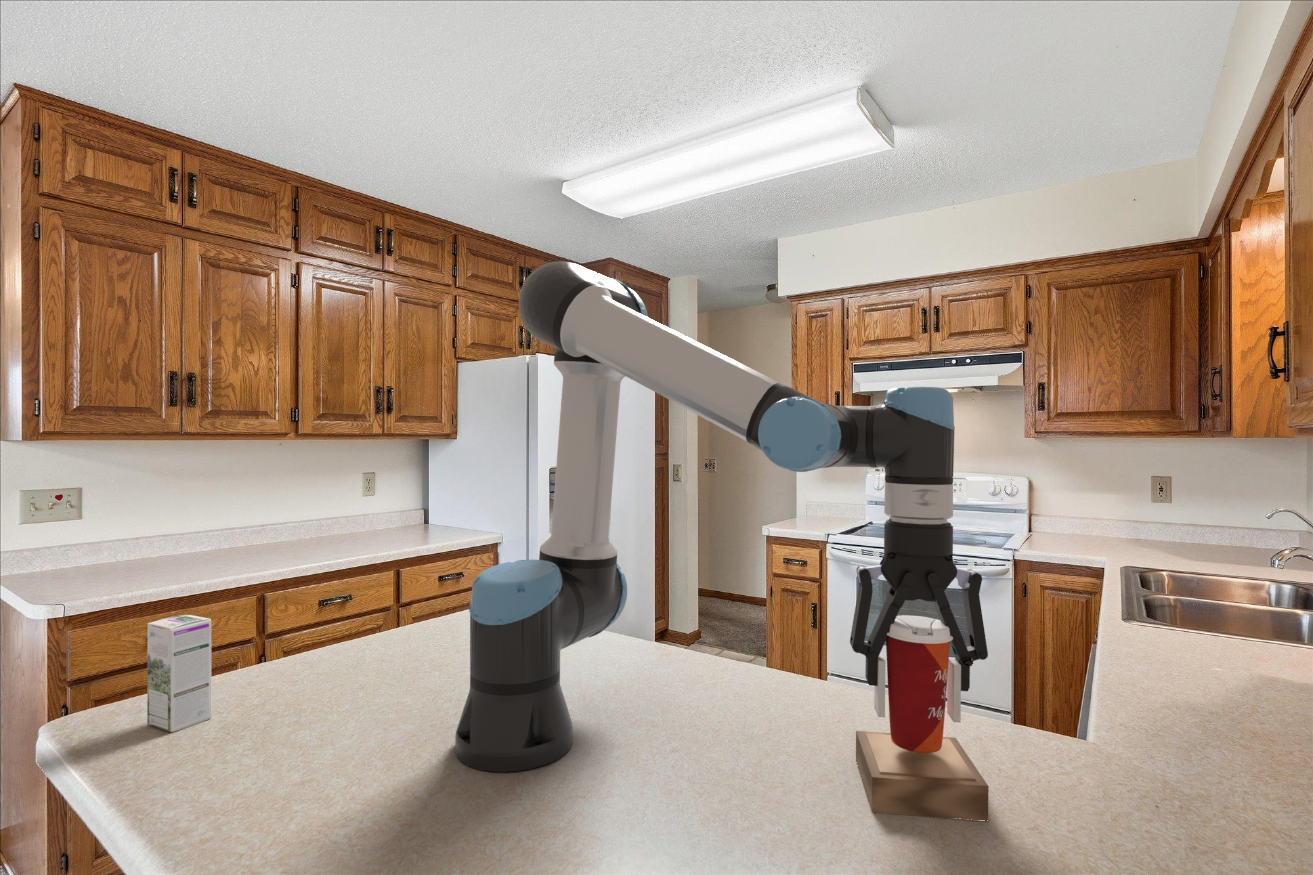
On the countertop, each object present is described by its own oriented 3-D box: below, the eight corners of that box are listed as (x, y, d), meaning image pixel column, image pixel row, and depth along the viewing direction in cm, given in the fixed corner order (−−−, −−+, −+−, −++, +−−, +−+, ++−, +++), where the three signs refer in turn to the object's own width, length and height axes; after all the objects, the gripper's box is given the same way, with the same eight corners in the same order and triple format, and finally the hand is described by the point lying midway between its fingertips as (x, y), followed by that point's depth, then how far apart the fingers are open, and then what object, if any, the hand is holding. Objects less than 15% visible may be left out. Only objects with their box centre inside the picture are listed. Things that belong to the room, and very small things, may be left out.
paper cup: (959, 761, 74) (960, 633, 74) (885, 753, 76) (887, 628, 76) (943, 731, 82) (945, 615, 82) (877, 725, 84) (878, 611, 84)
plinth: (871, 811, 74) (872, 775, 74) (855, 760, 86) (856, 729, 86) (988, 821, 72) (988, 784, 72) (955, 768, 84) (955, 736, 84)
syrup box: (213, 718, 97) (214, 616, 97) (168, 734, 91) (170, 626, 92) (188, 711, 99) (190, 612, 99) (144, 726, 94) (145, 621, 94)
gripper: (831, 520, 77) (829, 721, 77) (1024, 526, 74) (1022, 735, 74) (825, 513, 84) (823, 697, 84) (999, 518, 81) (997, 708, 81)
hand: (916, 714), depth 79 cm, fingers closed on paper cup, 8 cm apart
